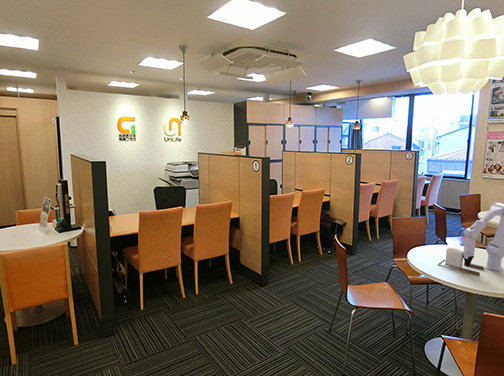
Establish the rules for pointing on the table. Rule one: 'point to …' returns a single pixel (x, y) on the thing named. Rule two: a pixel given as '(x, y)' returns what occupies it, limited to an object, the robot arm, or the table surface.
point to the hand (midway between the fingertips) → (467, 266)
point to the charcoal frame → (444, 266)
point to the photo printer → (454, 257)
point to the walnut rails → (472, 270)
